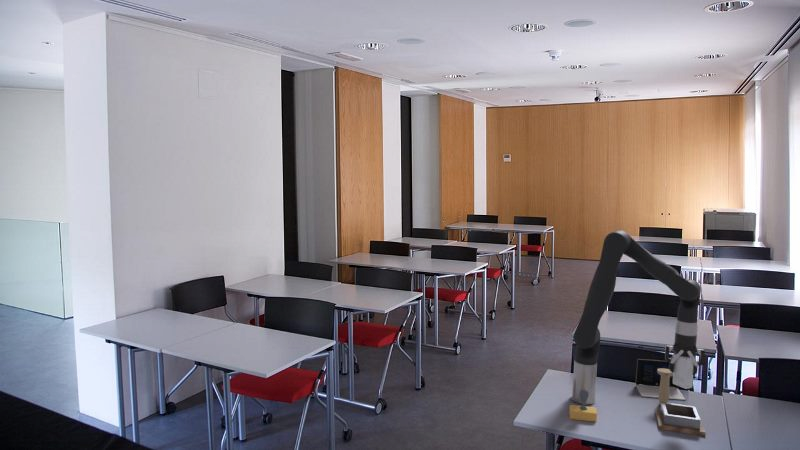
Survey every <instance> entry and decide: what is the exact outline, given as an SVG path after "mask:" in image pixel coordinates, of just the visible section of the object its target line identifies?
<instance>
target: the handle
mask: <svg viewBox="0 0 800 450" xmlns="http://www.w3.org/2000/svg"><path fill="white" fill-rule="evenodd" d="M657 373H658V374H660V375H661V380H660V387H659V398H658V404H659V405H660V406H661V402H665V403H669V400H670V399H669V388H670V387H669V381H670V376H673V373H672V372H671V371H670V369H664V368H659V369H657Z"/></svg>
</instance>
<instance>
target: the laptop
mask: <svg viewBox="0 0 800 450" xmlns="http://www.w3.org/2000/svg"><path fill="white" fill-rule="evenodd" d="M636 360H637V361H636V373H635V388H636V387H637V388H636V390H637V391H638V393H639V394H640V396H641V397H643V398H653V399H654V398H655V399H659V387H660V380H661V375H660V374H658V373H657V369H659V368H664V369H669V364H670V362H668V361H666V360H658V359H645V358H644V359H643V358H637V359H636ZM678 387H679V386H677V385H675V384H673V376H670V381H669V399H668V400H677V401H686V400H687V399H686V397H684V395H683V394H682V392H681V391H680V389H679V388H678Z"/></svg>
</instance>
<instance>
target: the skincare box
mask: <svg viewBox="0 0 800 450" xmlns="http://www.w3.org/2000/svg"><path fill="white" fill-rule="evenodd" d="M673 354H674V353H673ZM674 355H676V354H674ZM693 366H694V363H693V361H692V360H691V358H690V357H683V356H679V358H678V359H677V360H676V361H675V362H674V372H673V384H675V385H677V386H678V387H680V388H682V389H685V390H688V389H691V388H693V385H694V384H693V382H694V381H693V380H694V375H693Z"/></svg>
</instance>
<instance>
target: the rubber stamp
mask: <svg viewBox="0 0 800 450" xmlns="http://www.w3.org/2000/svg"><path fill="white" fill-rule="evenodd" d="M588 396H589V392H588V391H587V390H586V389H581V391H580V398H581V401H582V404H581V405H574V404H570V405H569V414H568V415H569V418H570V420H578V421H585V422H597V419H598V412H597V409H596V407H594V406H588V405H587V406H586V404H585V403H586V401H587V399H588Z"/></svg>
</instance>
